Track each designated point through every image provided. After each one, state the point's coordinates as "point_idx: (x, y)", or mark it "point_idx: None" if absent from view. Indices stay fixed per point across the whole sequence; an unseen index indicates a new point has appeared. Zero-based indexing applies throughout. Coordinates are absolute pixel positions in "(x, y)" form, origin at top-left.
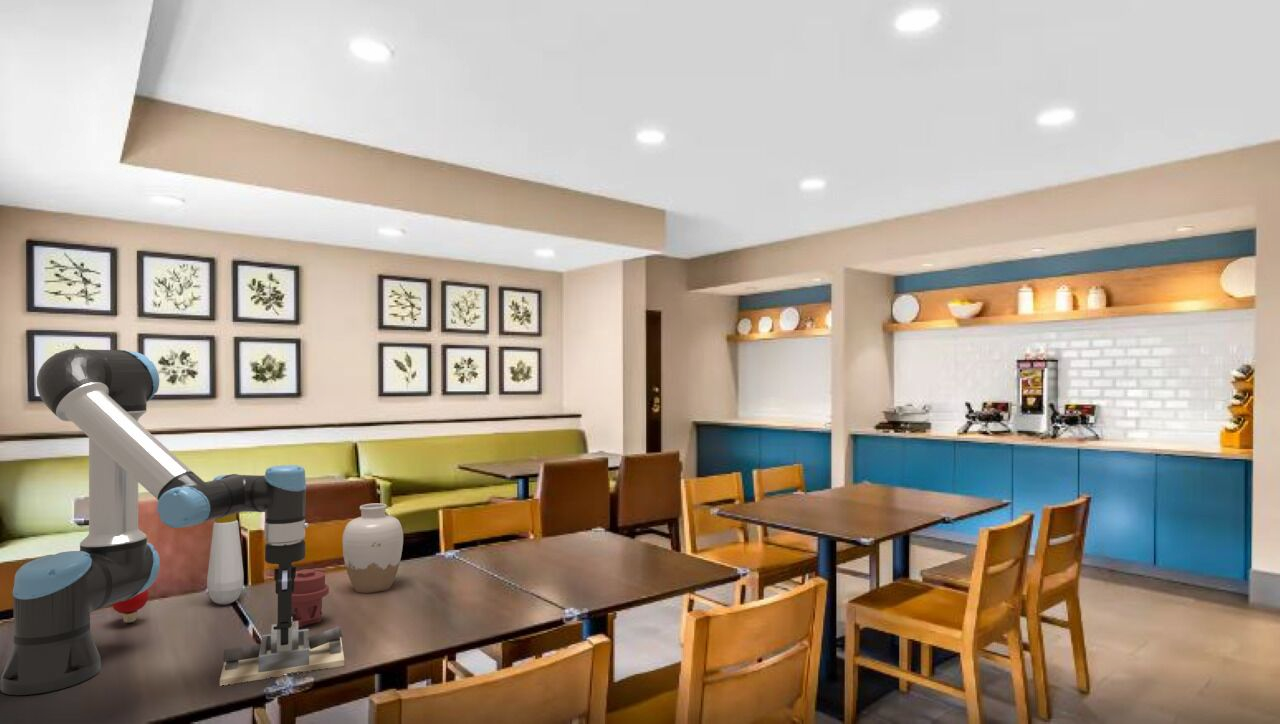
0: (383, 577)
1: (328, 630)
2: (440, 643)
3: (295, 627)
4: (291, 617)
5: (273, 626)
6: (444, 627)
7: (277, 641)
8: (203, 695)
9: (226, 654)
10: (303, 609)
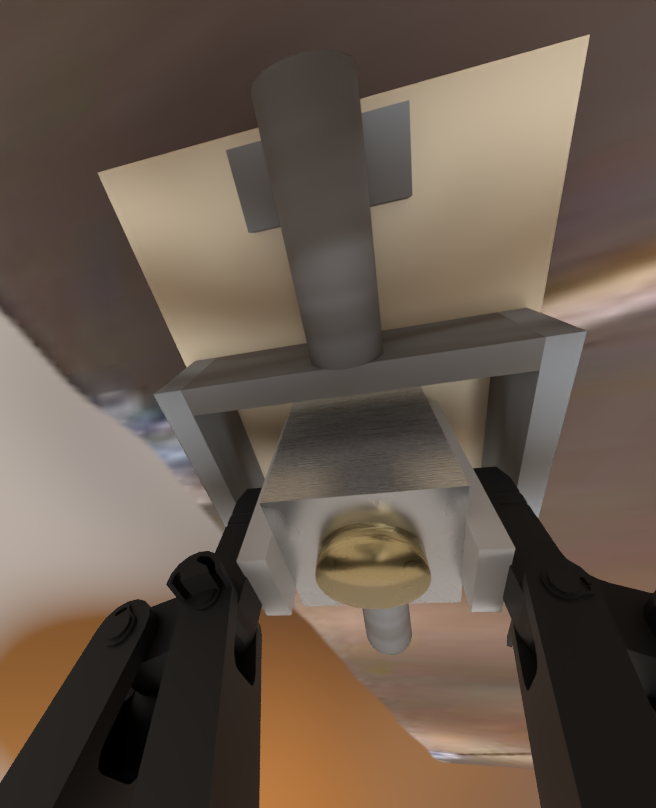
0: None
1: (380, 620)
2: (368, 667)
3: (328, 596)
4: (488, 608)
5: (408, 500)
6: (466, 678)
7: (264, 486)
8: (4, 116)
9: (257, 118)
10: None
